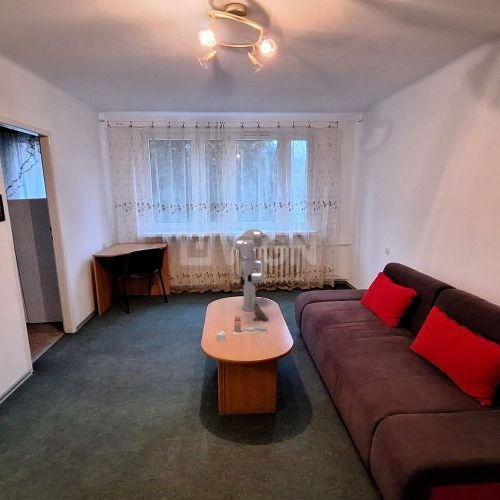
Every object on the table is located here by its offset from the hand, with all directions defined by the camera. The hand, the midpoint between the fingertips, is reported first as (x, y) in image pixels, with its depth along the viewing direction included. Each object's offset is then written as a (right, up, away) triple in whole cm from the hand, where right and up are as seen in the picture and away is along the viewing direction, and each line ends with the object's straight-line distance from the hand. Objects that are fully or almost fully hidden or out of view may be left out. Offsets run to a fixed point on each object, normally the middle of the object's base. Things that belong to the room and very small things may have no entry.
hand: (246, 283), depth 225 cm
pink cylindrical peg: (-6, -33, -3) cm, 34 cm away
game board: (+2, -34, -2) cm, 34 cm away
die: (-16, -36, -14) cm, 42 cm away
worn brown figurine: (+11, -30, +16) cm, 36 cm away
